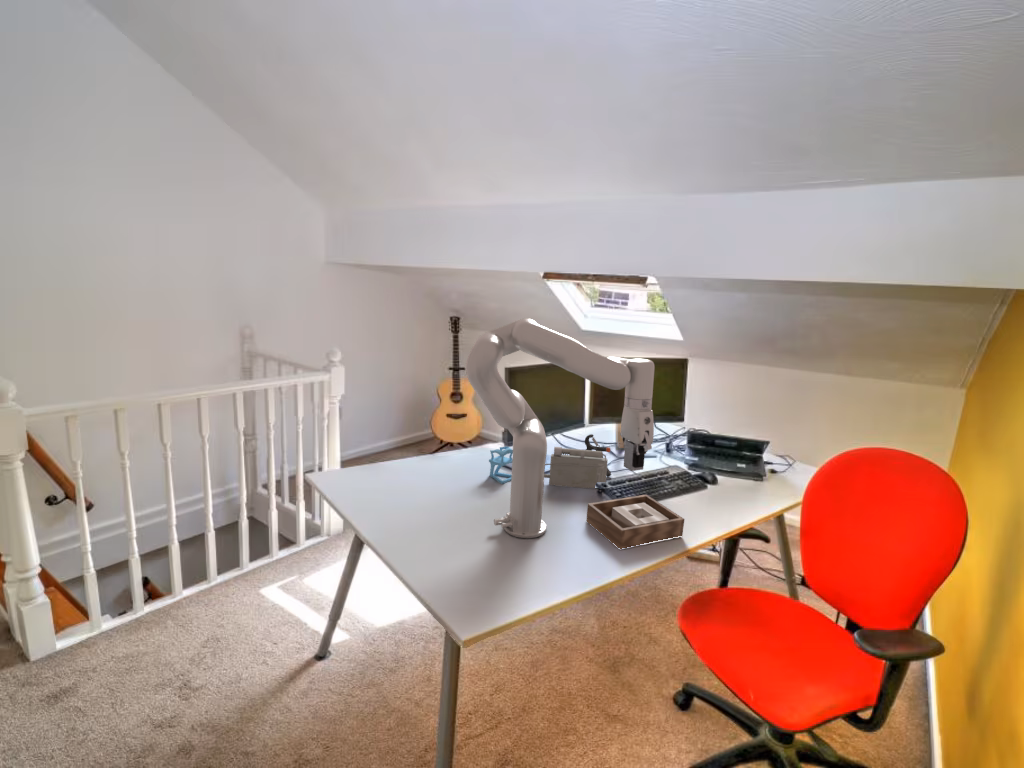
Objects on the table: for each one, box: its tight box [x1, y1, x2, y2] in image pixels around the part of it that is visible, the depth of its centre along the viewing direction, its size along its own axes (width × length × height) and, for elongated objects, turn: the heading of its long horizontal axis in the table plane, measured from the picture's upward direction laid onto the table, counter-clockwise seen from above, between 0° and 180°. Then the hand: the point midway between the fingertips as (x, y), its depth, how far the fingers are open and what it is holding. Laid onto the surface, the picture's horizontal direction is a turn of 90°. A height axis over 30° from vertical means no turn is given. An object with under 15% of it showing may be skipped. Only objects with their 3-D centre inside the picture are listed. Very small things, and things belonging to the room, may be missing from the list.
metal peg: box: [623, 440, 644, 472], centre depth 158 cm, size 4×4×8 cm
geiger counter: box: [544, 446, 608, 489], centre depth 195 cm, size 14×6×25 cm
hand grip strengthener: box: [584, 433, 612, 478], centre depth 207 cm, size 2×12×15 cm, turn 58°
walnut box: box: [586, 494, 685, 549], centre depth 165 cm, size 22×18×6 cm
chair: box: [488, 445, 513, 485], centre depth 199 cm, size 8×8×12 cm
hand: (633, 463), depth 159 cm, fingers closed on metal peg, 4 cm apart
